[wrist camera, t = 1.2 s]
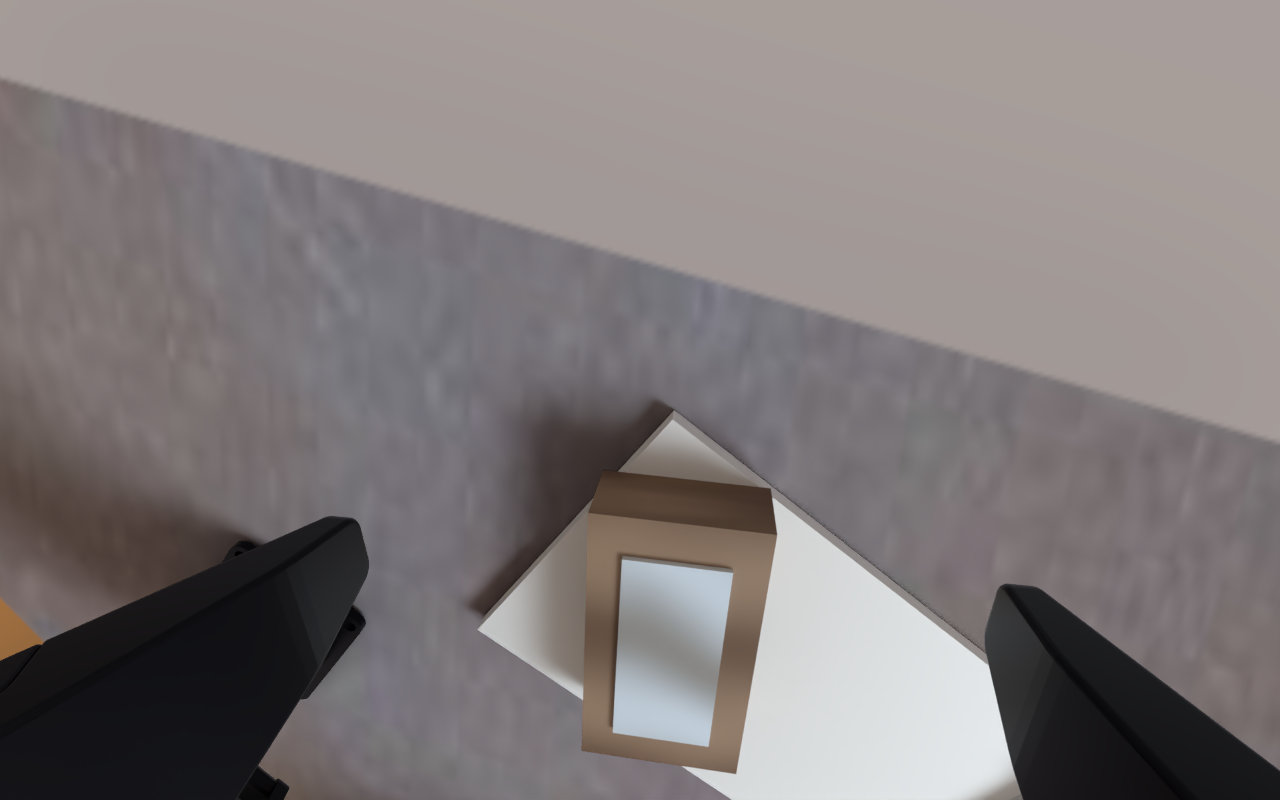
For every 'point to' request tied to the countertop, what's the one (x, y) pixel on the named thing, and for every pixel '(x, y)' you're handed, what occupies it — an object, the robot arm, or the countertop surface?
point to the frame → (673, 616)
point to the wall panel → (802, 659)
